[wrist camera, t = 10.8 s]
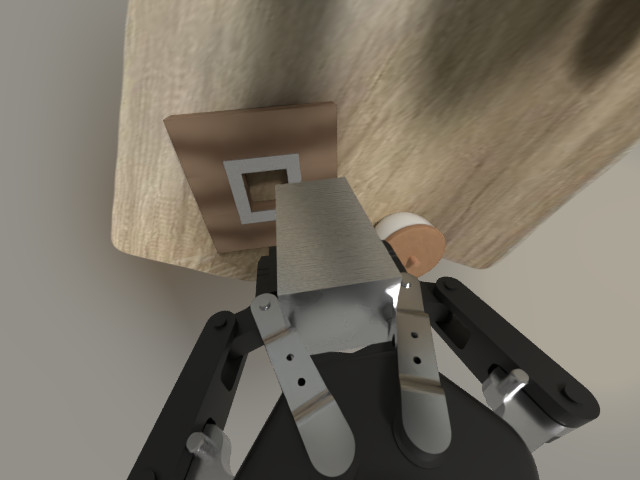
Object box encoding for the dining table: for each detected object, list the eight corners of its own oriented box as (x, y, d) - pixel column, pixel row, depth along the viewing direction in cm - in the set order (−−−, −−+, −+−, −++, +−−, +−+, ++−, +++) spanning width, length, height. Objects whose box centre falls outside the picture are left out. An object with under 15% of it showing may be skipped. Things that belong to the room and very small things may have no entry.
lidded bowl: (416, 190, 46) (449, 222, 37) (425, 237, 53) (455, 272, 45) (354, 218, 47) (372, 255, 39) (371, 259, 55) (390, 298, 46)
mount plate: (170, 115, 33) (161, 120, 30) (332, 101, 35) (337, 105, 32) (220, 243, 46) (217, 254, 44) (334, 228, 48) (338, 238, 45)
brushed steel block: (275, 184, 17) (277, 295, 9) (344, 176, 18) (402, 276, 10) (285, 240, 20) (293, 359, 12) (344, 232, 21) (387, 342, 13)
